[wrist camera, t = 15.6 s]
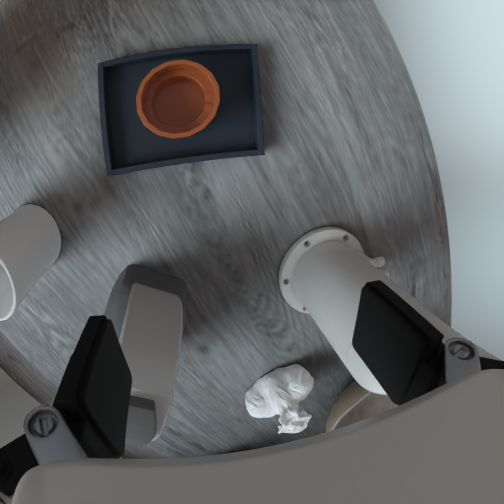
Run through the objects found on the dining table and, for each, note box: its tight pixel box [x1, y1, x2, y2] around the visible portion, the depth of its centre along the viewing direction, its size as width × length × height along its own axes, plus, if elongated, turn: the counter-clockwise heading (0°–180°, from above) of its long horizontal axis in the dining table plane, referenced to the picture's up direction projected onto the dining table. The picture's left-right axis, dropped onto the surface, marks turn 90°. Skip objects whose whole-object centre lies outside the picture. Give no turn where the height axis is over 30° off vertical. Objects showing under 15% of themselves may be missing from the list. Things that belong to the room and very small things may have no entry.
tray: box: [98, 44, 265, 176], centre depth 26 cm, size 16×12×2 cm
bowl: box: [325, 380, 398, 432], centre depth 49 cm, size 26×26×10 cm
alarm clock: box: [105, 265, 187, 446], centre depth 27 cm, size 16×10×18 cm, turn 156°
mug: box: [0, 204, 61, 321], centre depth 22 cm, size 12×8×12 cm
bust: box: [245, 364, 314, 434], centre depth 41 cm, size 12×8×11 cm
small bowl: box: [136, 59, 220, 139], centre depth 24 cm, size 7×7×5 cm
